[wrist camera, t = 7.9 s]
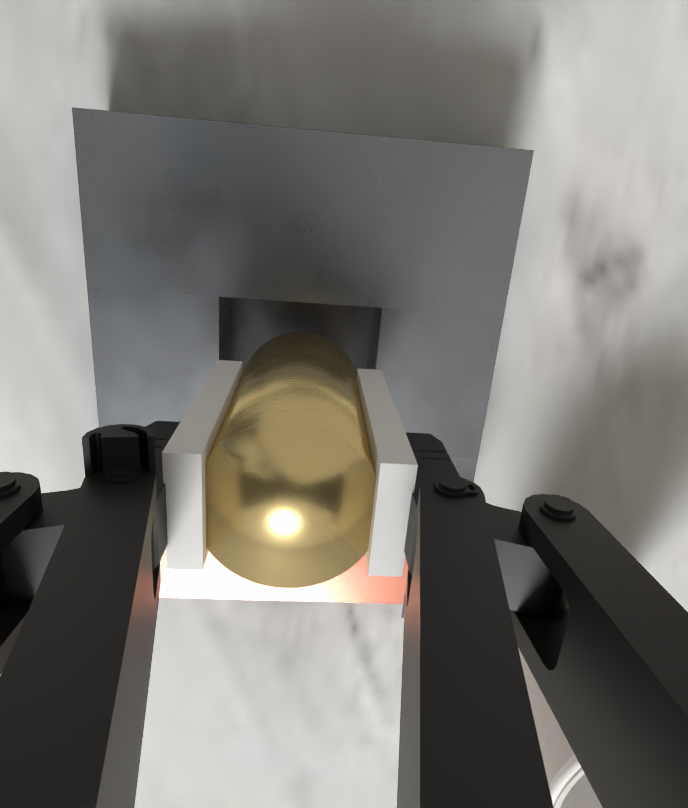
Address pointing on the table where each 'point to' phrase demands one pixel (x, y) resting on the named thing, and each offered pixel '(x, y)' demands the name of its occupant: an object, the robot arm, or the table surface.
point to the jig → (294, 277)
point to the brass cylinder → (291, 468)
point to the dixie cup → (558, 754)
